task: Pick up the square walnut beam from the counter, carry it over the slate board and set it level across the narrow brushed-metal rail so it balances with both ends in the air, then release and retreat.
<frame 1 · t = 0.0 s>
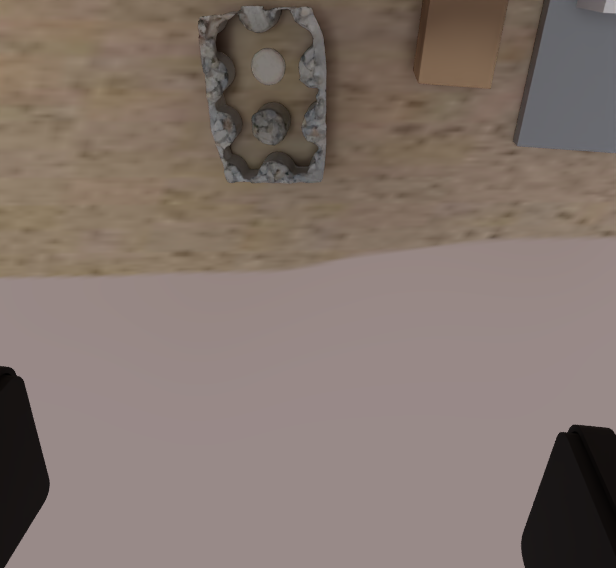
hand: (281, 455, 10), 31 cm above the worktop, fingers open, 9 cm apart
egg carton: (275, 92, 38), on the worktop
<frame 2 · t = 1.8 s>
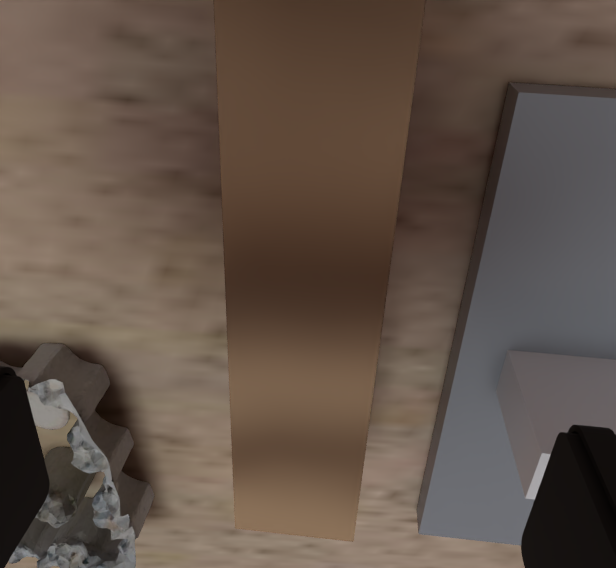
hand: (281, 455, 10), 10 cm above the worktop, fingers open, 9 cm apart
beam: (320, 200, 18), on the worktop
egg carton: (66, 430, 25), on the worktop
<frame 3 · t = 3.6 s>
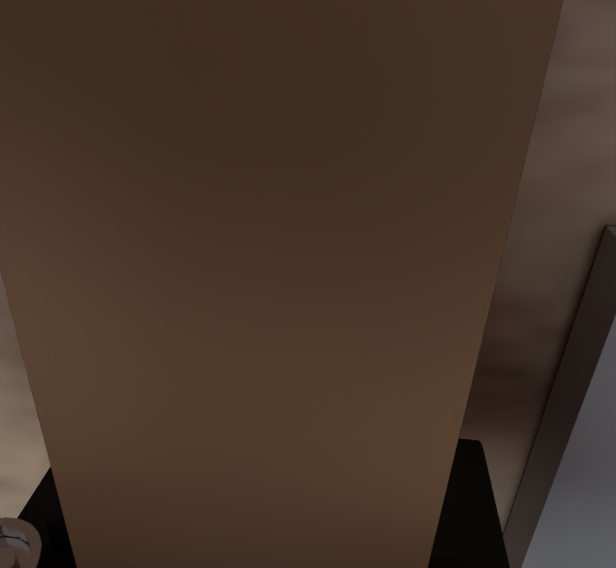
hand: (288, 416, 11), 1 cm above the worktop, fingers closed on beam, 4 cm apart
beam: (293, 391, 12), on the worktop, touching gripper
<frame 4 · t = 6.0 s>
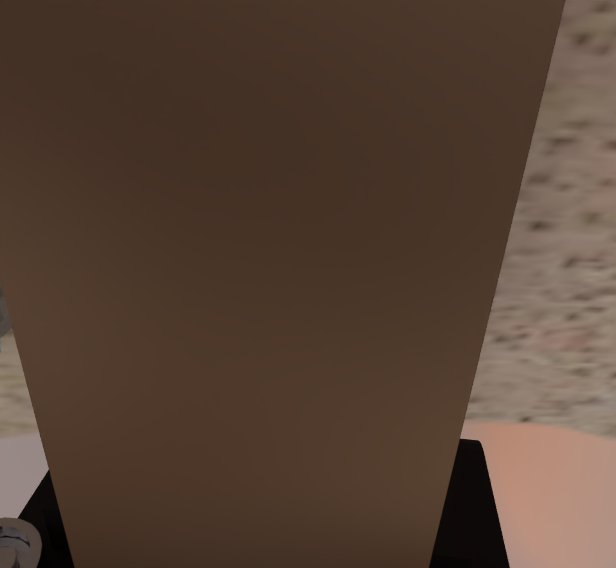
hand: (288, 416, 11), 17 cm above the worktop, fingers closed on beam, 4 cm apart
beam: (293, 395, 12), point 16 cm above the worktop, touching gripper
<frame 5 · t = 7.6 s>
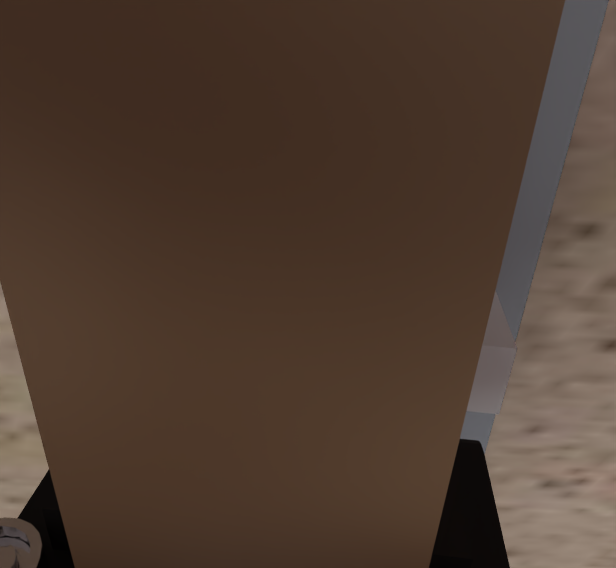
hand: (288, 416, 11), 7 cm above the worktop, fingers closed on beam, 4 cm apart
beam: (293, 395, 12), point 7 cm above the worktop, touching gripper
fulcrum board: (320, 251, 17), on the worktop
when the fingers open (7 cm above the worktop, at t = 8.7 s): beam stays where it is, resting on fulcrum board.
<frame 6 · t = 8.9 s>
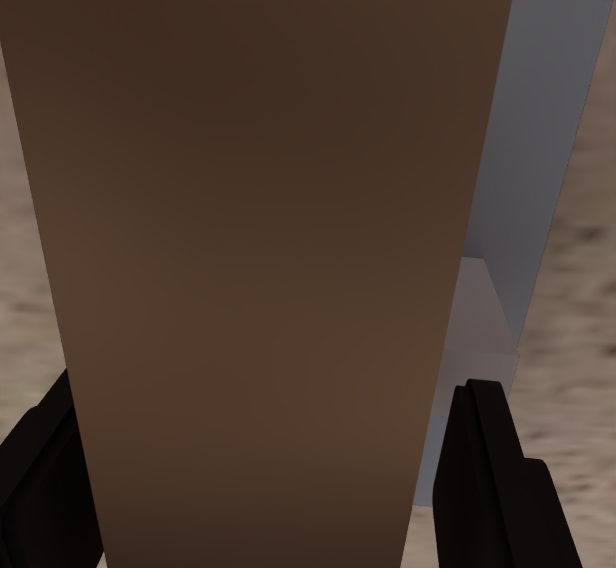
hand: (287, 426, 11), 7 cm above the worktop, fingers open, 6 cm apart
beam: (292, 366, 12), point 6 cm above the worktop, touching fulcrum board
fulcrum board: (319, 254, 17), on the worktop
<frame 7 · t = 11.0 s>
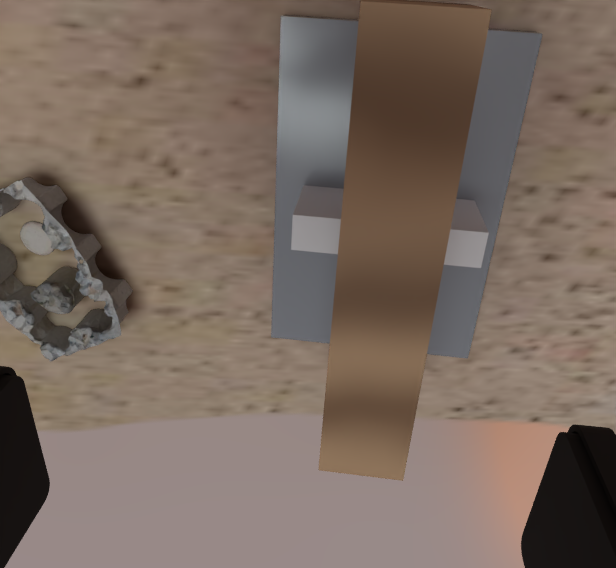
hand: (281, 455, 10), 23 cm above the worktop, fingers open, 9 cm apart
beam: (384, 239, 27), point 6 cm above the worktop, touching fulcrum board
fulcrum board: (385, 201, 31), on the worktop
egg carton: (60, 256, 36), on the worktop
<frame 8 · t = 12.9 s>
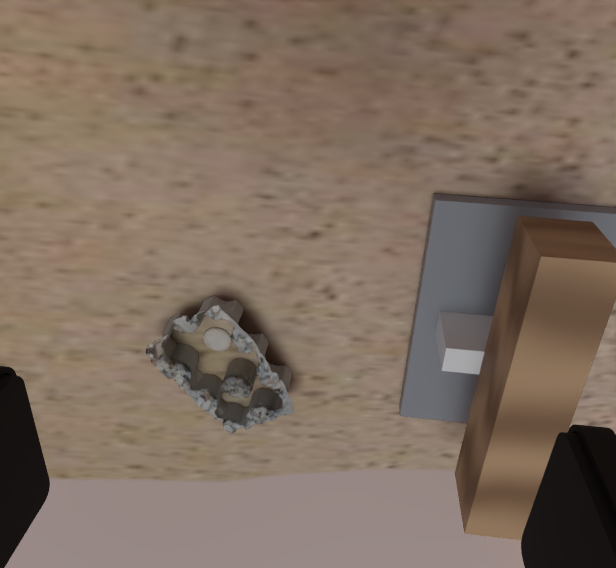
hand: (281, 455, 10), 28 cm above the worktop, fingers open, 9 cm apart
beam: (514, 365, 36), point 6 cm above the worktop, touching fulcrum board
fulcrum board: (498, 318, 41), on the worktop
egg carton: (233, 350, 45), on the worktop
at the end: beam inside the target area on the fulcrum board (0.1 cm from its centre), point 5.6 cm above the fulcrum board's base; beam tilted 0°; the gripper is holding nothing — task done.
